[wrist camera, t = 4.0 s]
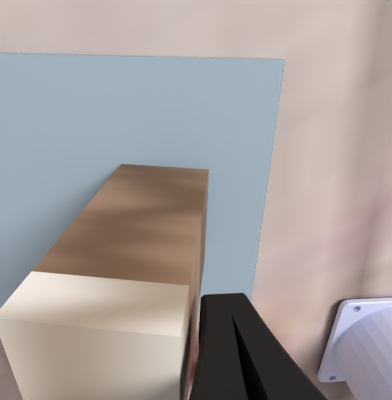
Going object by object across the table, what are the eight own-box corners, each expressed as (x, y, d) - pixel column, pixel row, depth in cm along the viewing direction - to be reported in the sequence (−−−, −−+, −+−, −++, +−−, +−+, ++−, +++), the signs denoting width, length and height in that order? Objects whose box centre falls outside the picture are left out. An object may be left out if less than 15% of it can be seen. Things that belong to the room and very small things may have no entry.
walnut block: (208, 169, 15) (180, 337, 7) (204, 259, 17) (179, 462, 9) (121, 163, 15) (-8, 317, 7) (128, 252, 17) (39, 444, 9)
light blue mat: (281, 59, 14) (285, 60, 13) (248, 302, 20) (250, 308, 20) (-376, 44, 12) (-397, 44, 11) (-177, 324, 18) (-185, 331, 18)
